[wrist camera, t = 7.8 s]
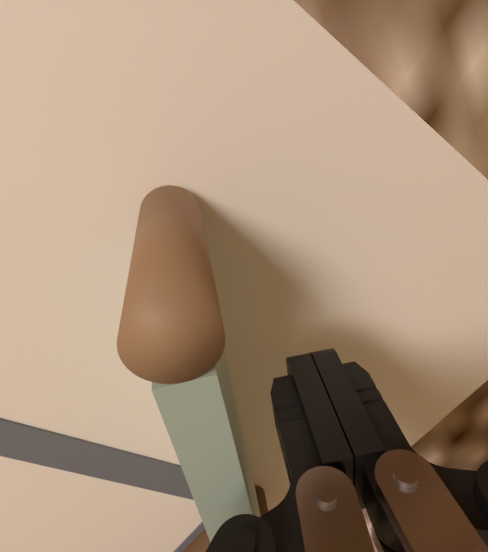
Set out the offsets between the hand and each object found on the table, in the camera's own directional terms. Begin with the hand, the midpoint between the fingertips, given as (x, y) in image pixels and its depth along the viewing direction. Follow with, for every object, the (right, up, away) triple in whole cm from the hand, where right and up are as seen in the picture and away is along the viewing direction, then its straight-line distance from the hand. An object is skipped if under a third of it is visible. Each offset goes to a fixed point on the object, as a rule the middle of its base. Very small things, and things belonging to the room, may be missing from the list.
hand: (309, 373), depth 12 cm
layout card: (-6, -5, +6) cm, 10 cm away
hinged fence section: (-3, -1, +3) cm, 4 cm away
